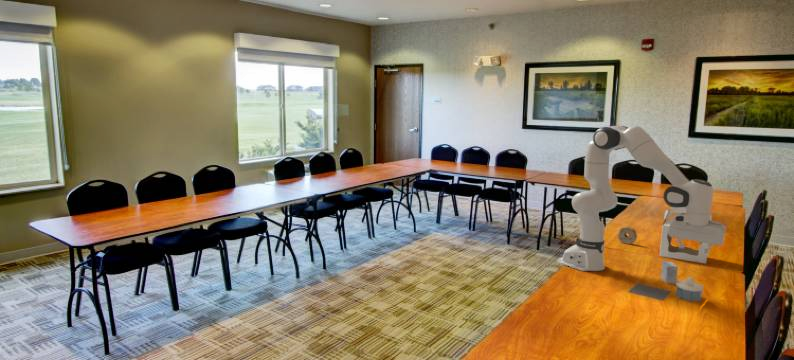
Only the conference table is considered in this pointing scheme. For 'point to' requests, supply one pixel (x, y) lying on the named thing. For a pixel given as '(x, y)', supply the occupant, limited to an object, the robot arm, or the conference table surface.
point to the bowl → (688, 295)
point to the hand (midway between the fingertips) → (693, 250)
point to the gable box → (676, 252)
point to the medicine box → (669, 272)
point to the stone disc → (624, 237)
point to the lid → (689, 285)
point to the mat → (650, 291)
